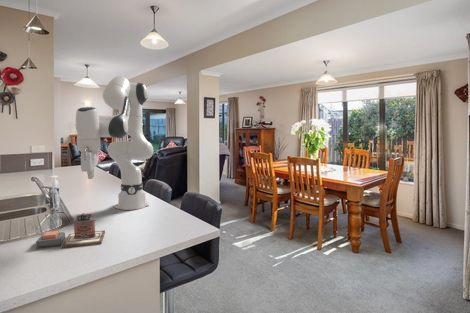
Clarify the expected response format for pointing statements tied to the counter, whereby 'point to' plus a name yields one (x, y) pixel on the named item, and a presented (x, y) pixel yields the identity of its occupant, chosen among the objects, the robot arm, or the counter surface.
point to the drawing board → (83, 240)
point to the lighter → (84, 226)
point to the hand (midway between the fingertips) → (90, 178)
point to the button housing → (50, 241)
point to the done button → (51, 235)
